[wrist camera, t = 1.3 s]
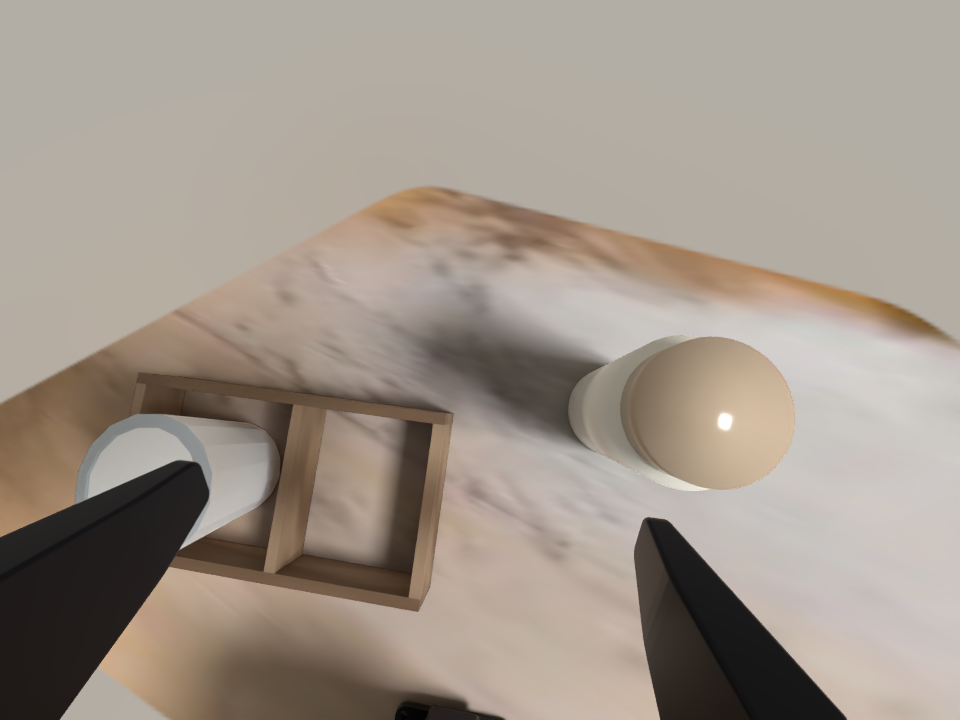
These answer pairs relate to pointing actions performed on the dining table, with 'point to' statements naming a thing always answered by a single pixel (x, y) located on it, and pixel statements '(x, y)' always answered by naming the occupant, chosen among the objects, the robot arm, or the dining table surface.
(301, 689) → the dining table surface
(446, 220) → the dining table surface
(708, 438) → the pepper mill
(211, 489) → the white cup
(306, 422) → the walnut caddy
